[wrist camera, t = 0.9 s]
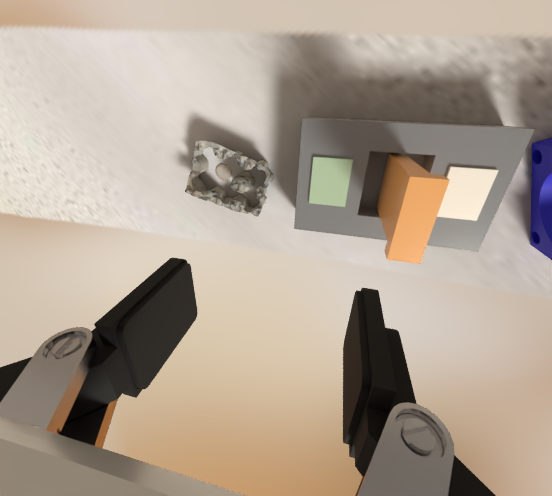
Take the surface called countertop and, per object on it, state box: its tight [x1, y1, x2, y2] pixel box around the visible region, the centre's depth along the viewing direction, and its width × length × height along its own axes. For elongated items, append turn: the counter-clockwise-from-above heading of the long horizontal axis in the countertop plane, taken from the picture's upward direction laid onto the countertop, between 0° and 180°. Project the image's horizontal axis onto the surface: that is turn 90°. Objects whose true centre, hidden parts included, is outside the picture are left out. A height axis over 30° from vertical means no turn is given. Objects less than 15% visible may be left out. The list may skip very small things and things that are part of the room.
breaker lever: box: [376, 153, 450, 264], centre depth 24 cm, size 2×6×12 cm, turn 179°
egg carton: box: [185, 140, 274, 216], centre depth 34 cm, size 11×8×4 cm
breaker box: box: [294, 117, 535, 252], centre depth 29 cm, size 20×12×5 cm, turn 89°
